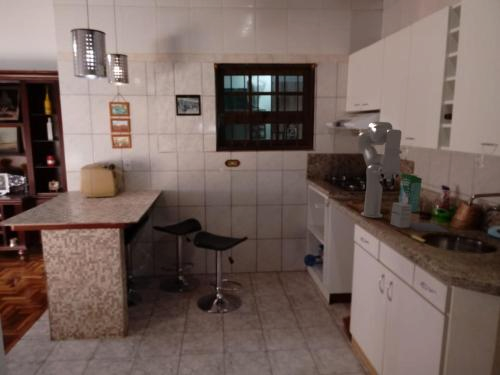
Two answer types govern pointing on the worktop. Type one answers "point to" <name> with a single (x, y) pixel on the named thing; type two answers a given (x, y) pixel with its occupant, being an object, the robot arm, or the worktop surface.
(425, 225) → the mat
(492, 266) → the worktop surface
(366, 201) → the robot arm
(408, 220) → the supplement box
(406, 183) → the milk carton
